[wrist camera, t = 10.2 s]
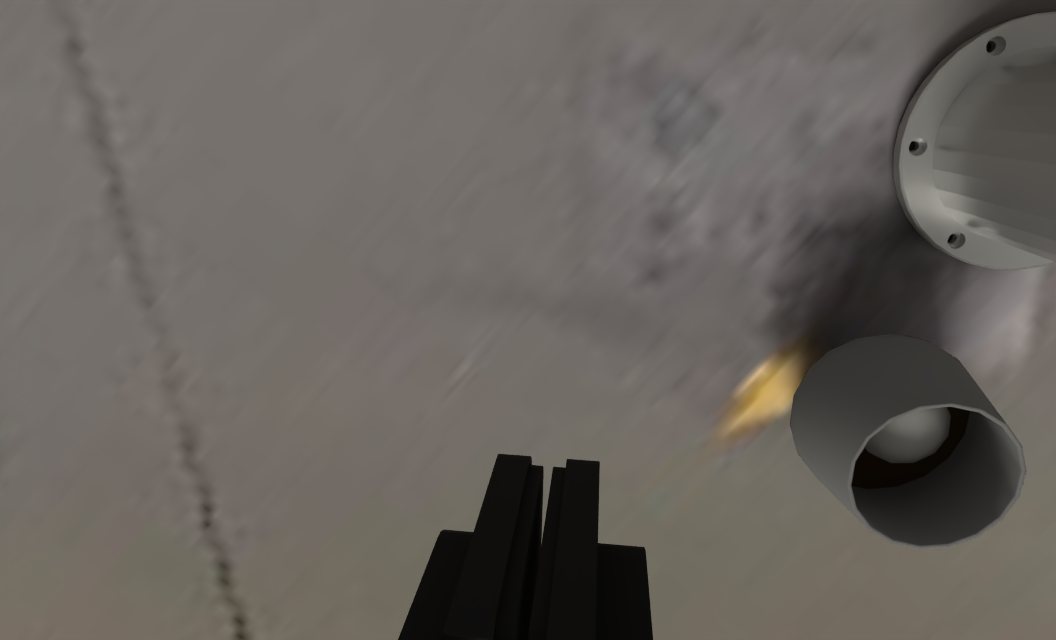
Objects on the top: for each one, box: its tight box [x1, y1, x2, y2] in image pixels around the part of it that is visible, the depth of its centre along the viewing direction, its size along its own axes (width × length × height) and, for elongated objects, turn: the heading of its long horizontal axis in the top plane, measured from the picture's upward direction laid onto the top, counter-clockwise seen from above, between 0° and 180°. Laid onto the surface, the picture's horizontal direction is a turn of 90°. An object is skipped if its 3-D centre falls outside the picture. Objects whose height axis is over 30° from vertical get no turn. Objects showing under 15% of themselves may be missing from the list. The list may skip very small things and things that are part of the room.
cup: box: [790, 334, 1026, 549], centre depth 35 cm, size 10×9×10 cm
